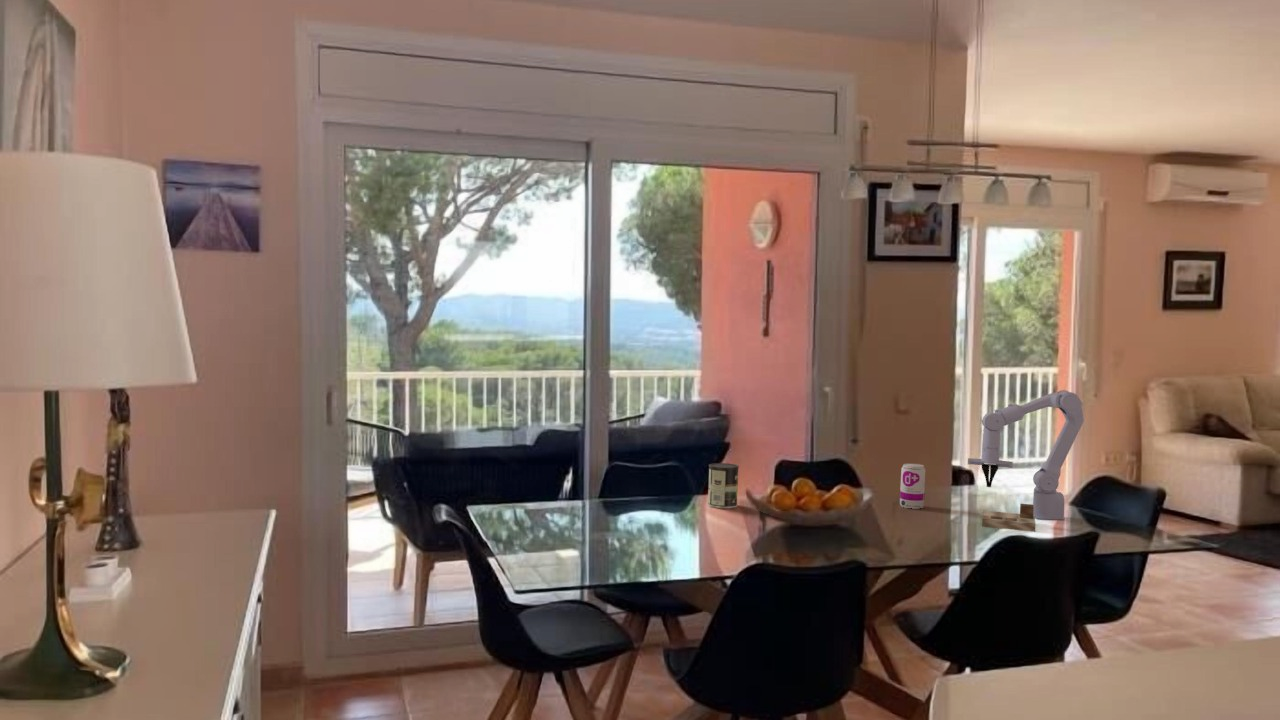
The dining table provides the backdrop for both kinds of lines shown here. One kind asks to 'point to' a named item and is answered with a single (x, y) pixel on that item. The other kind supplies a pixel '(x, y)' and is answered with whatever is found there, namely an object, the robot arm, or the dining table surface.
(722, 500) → the coffee can
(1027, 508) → the walnut block
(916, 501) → the supplement can
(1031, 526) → the wooden board
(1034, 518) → the pad
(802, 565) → the dining table surface
